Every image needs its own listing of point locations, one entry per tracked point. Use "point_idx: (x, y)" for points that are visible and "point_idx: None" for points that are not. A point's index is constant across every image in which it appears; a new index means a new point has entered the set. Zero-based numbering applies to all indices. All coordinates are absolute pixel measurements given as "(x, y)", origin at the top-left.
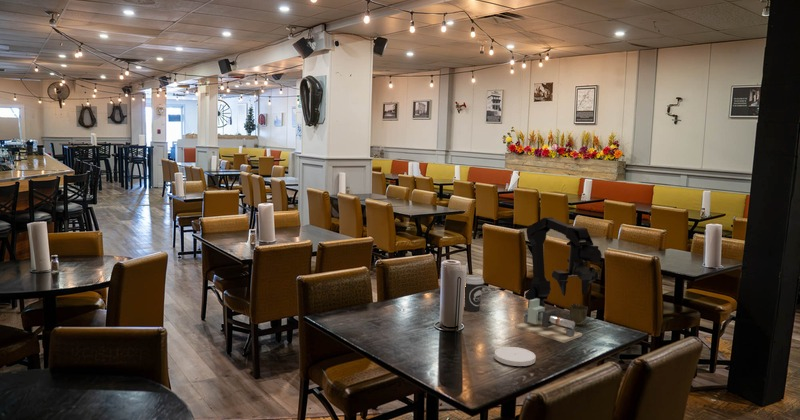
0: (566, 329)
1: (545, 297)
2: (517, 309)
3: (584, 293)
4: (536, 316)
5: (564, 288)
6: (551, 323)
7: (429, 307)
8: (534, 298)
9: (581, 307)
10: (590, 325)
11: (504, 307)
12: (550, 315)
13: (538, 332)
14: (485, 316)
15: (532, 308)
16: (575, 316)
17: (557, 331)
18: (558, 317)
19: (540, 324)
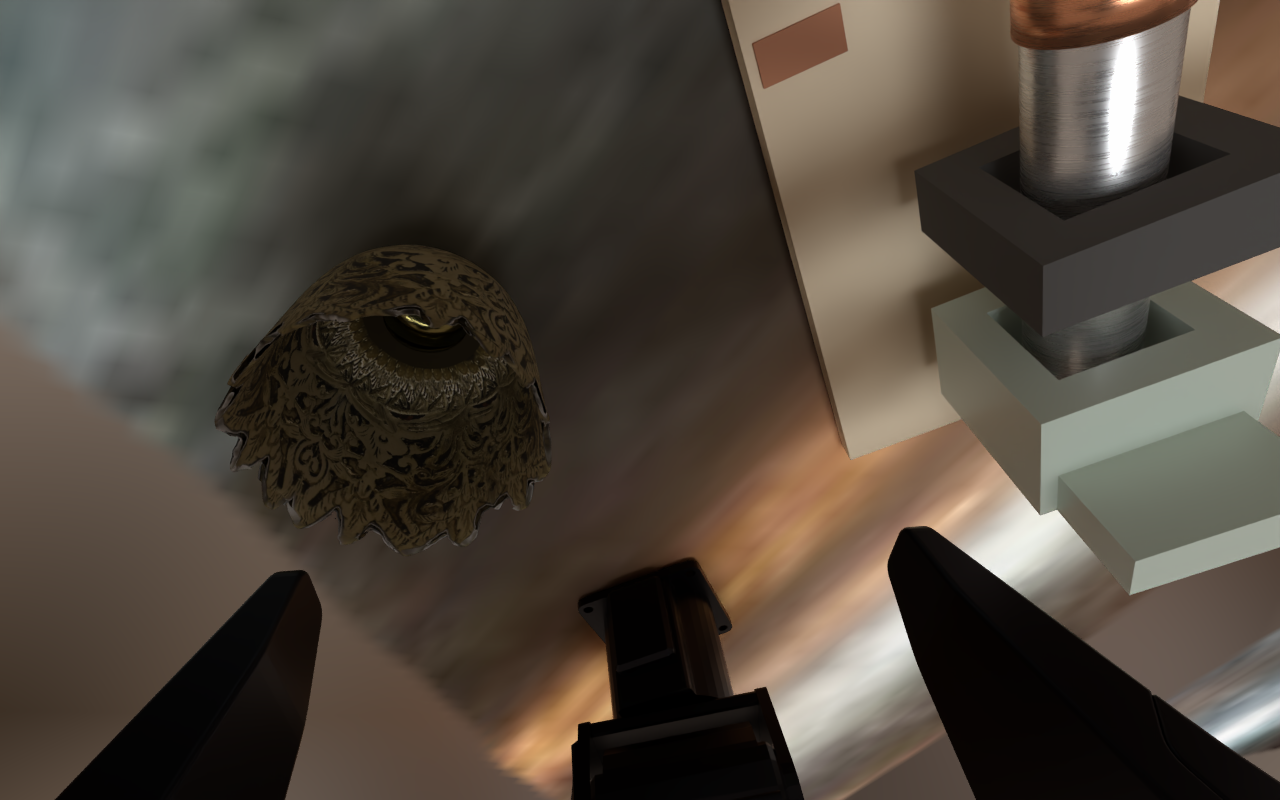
0: (785, 53)
1: (592, 744)
2: (742, 661)
3: (268, 596)
4: (1184, 288)
5: (1131, 702)
6: (1017, 146)
7: (1201, 691)
8: (720, 725)
9: (304, 481)
10: (255, 232)
11: (799, 689)
12: (1149, 179)
13: (1206, 53)
14: (1083, 566)
15: (1247, 405)
16: (505, 300)
17: (965, 11)
18: (1180, 1)
19: (925, 313)
